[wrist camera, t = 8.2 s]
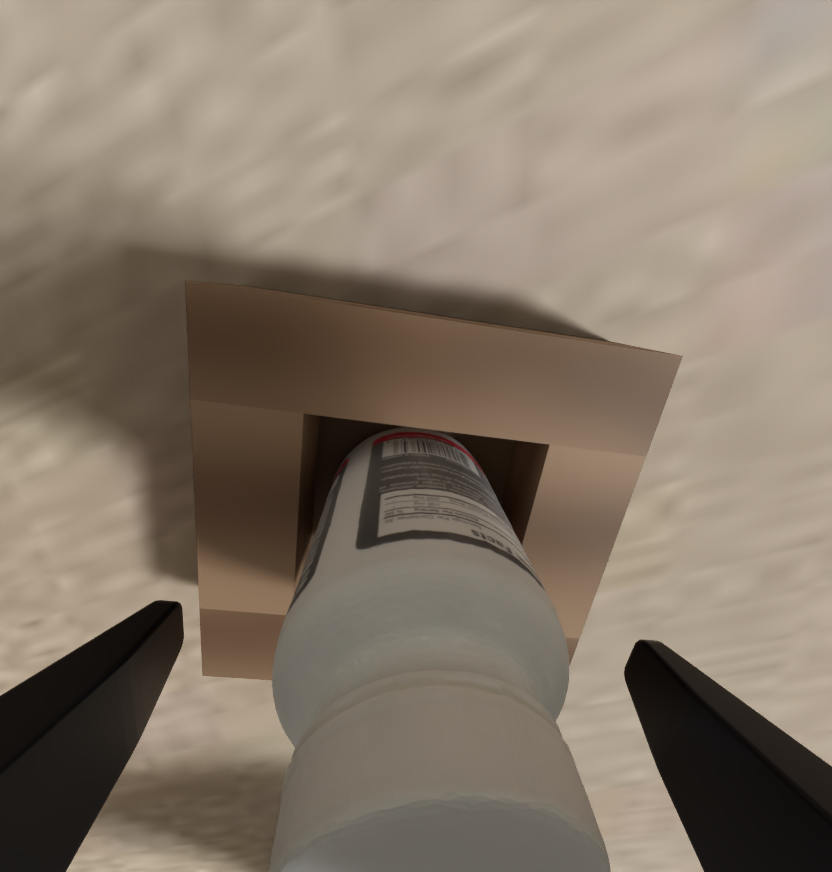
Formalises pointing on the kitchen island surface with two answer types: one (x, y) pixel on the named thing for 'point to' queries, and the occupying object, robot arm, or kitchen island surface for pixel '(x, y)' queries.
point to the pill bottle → (424, 681)
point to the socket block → (387, 409)
